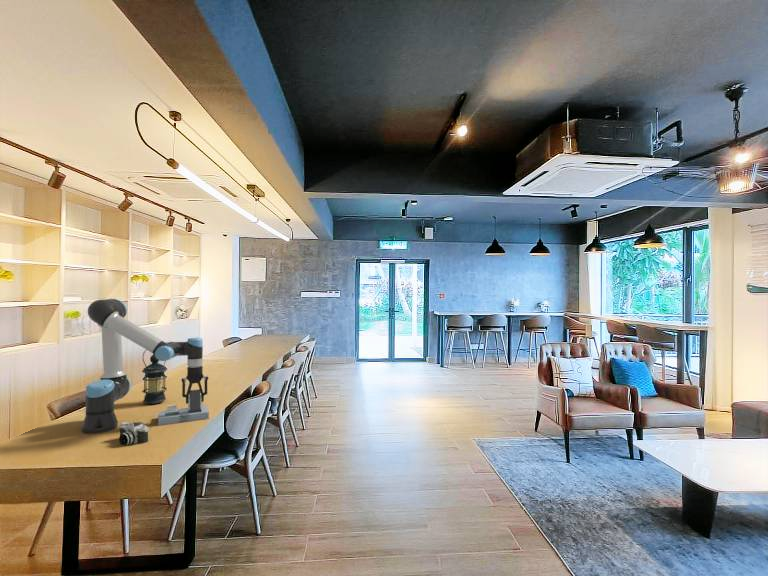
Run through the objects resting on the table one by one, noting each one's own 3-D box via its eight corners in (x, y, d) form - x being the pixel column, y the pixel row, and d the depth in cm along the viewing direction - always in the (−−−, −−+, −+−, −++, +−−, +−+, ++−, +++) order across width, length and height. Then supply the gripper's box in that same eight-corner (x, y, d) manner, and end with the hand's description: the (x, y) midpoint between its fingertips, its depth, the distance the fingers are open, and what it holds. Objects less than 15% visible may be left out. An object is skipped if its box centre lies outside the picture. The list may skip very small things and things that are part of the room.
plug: (190, 410, 218) (190, 392, 218) (189, 408, 223) (189, 390, 223) (200, 409, 221) (200, 391, 221) (199, 407, 225) (199, 389, 225)
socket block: (158, 426, 208) (158, 413, 208) (158, 418, 220) (158, 405, 220) (208, 419, 219) (208, 406, 219) (206, 412, 232) (206, 400, 232)
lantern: (137, 406, 243) (137, 348, 243) (147, 400, 256) (147, 345, 256) (162, 405, 244) (162, 347, 245) (171, 399, 258) (171, 344, 258)
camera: (108, 444, 184) (108, 422, 184) (125, 438, 192) (126, 417, 192) (134, 449, 179) (134, 426, 179) (151, 442, 187) (151, 420, 187)
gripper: (176, 368, 214) (176, 412, 214) (213, 365, 223) (213, 408, 223) (176, 366, 221) (176, 409, 221) (212, 363, 229) (211, 404, 229)
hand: (194, 408), depth 222 cm, fingers closed on plug, 5 cm apart
